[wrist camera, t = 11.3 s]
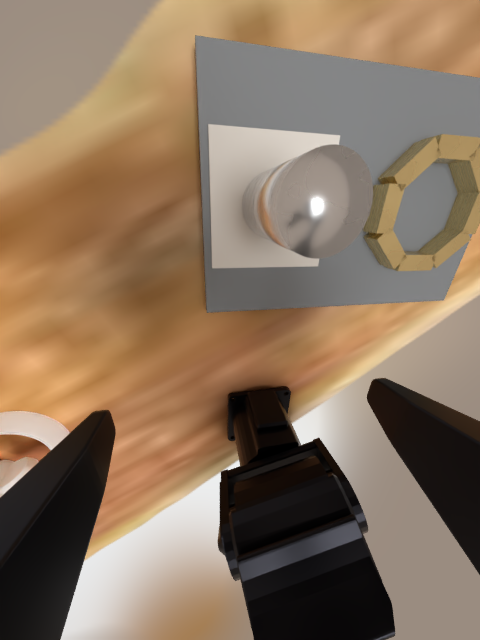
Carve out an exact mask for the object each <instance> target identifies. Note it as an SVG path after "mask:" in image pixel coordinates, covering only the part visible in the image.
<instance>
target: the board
mask: <svg viewBox="0 0 480 640" xmlns="http://www.w3.org/2000/svg"><path fill="white" fill-rule="evenodd" d="M195 56H196V79H197V103H198V127H199V150H200V174H201V198H202V221H203V245H204V269H205V292H206V310H207V313H209V312H228V311H248V310H267V309H286V308H306V307H325V306H344V305H363V304H383V303H402V302H421V301H440V300H444V299H445V296H446V294H447V292H448V289H449V287H450V285H451V282H452V280H453V278H454V275H455V273H456V271H457V269H458V266H459V264H460V262H461V259H462V257H463V255H464V252H465V250H466V248H467V245H468V243H469V242H467V243H466V244H465V245H464V246H462V247H461V248H460V249H459V250H458V251H456V252H455V253H454V254H453V255H452V256H450V257H449V258H448V259H447V260H446V261H444V262H443V263H442V264H441V265H439V266H438V267H437V268H434V267H432V269H431V270H426V271H396V270H393V269H390V268H387V267H384V266H383V265H380V264H379V262H378V261H377V259H376V257H375V256H374V254H373V252H372V251H371V249H370V247H369V246H368V244H367V242H366V241H365V239H364V236H365V235H366V234H367V233H368V232H364V231H363V229H362V231H361V232H360V234H359V235H358V236H357V238H356V239H355V240H354V241H353V242H352V243H351V244H350V245H349V246H348V247H346V248H345V249H344V250H342V251H341V252H339V253H337V254H335V255H333V256H330V257H326V258H320V259H319V264H318V266H310V267H260V268H212V247H211V212H210V176H209V140H208V124H213V125H225V126H236V127H248V128H260V129H271V130H283V131H295V132H306V133H318V134H329V135H340V140H339V145H343V146H345V147H348V148H350V149H352V150H354V151H355V152H356V153H357V154H359V155H360V156H361V158H362V159H363V160H364V161H365V163H366V165H367V167H368V169H369V171H370V174H371V178H372V184H373V186H374V185H380V183H379V181H378V179H377V178H378V177H379V176H380V175H381V174H383V173H384V172H385V171H386V170H387V169H388V168H389V167H390V166H391V165H392V164H393V163H394V162H395V161H396V160H397V159H398V158H399V157H400V156H401V155H402V154H403V153H404V152H405V151H407V150H408V149H409V148H410V147H411V146H412V145H413V144H414V143H415V142H419V141H421V140H422V139H426V138H430V137H433V136H437V135H440V134H448V135H458V136H469V137H479V138H480V78H477V77H470V76H464V75H457V74H450V73H444V72H437V71H430V70H423V69H417V68H410V67H403V66H397V65H390V64H383V63H377V62H370V61H363V60H357V59H350V58H343V57H337V56H330V55H323V54H316V53H310V52H303V51H296V50H290V49H283V48H276V47H270V46H263V45H256V44H250V43H243V42H236V41H229V40H223V39H216V38H209V37H203V36H196V35H195ZM456 196H457V190H456V187H455V184H454V181H453V178H452V175H451V172H450V169H449V166H448V164H442V163H432V164H431V165H430V166H429V167H428V168H427V169H426V170H424V171H423V172H422V173H421V174H420V175H419V176H418V177H417V178H416V179H415V180H414V181H413V182H411V183H410V184H409V185H408V186H407V187H406V188H405V189H404V193H403V196H402V200H401V203H400V207H399V210H398V213H397V217H396V220H395V224H394V227H393V231H394V233H395V235H396V237H397V239H398V241H399V243H400V244H401V246H402V248H403V250H404V251H418V250H420V249H421V248H422V247H423V246H424V245H425V244H427V243H428V242H429V241H430V240H431V239H432V238H434V237H435V236H436V235H437V234H438V233H440V232H441V231H442V230H443V229H444V228H445V225H446V222H447V220H448V217H449V214H450V212H451V209H452V207H453V204H454V201H455V199H456ZM363 228H364V227H363ZM471 236H472V234H469V237H470V238H471Z"/></svg>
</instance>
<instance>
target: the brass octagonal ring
mask: <svg viewBox="0 0 480 640" xmlns="http://www.w3.org/2000/svg"><path fill="white" fill-rule="evenodd" d="M432 163H442V164H448V166H449V169H450V172H451V175H452V178H453V181H454V184H455V187H456V190H457V196H456V199H455V201H454V204H453V207H452V209H451V212H450V214H449V217H448V220H447V222H446V225H445V228H444V229H443V230H442V231H441V232H440V233H438V234H437V235H436V236H435V237H434V238H432V239H431V240H430V241H429V242H428V243H427V244H425V245H424V246H423V247H422V248H421V249H420V250H418V251H404V250H403V248H402V246H401V244H400V243H399V241H398V239H397V237H396V235H395V233H394V231H393V227H394V224H395V220H396V217H397V213H398V210H399V207H400V203H401V200H402V196H403V193H404V189H405V188H406V187H407V186H408V185H409V184H410V183H411V182H413V181H414V180H415V179H416V178H417V177H418V176H419V175H420V174H421V173H422V172H423V171H424V170H426V169H427V168H428V167H429V166H430V165H431V164H432ZM377 179H378V181H379V183H380V185H374V186H373V201H372V206H371V210H370V214H369V217H368V219H367V221H366V224H365V225H364V228H363V231H364V232H368V233H367V234H366V235H365V236H364V239H365V241H366V242H367V244H368V246H369V247H370V249H371V251H372V252H373V254H374V256H375V257H376V259H377V261H378V262H379V264H380V265H383V266H384V267H387V268H390V269H393V270H396V271H426V270H431V269H432V267H434V268H437V267H438V266H439V265H441V264H442V263H443V262H444V261H446V260H447V259H448V258H449V257H450V256H452V255H453V254H454V253H455V252H456V251H458V250H459V249H460V248H461V247H462V246H464V245H465V244H466V243H467V242H469V241H470V237H469V234H475V233H476V230H477V228H478V226H479V224H480V138H479V137H469V136H458V135H448V134H440V135H437V136H433V137H430V138H426V139H422V140H421V141H419V142H415V143H414V144H413V145H412V146H411V147H410V148H409V149H408V150H407V151H405V152H404V153H403V154H402V155H401V156H400V157H399V158H398V159H397V160H396V161H395V162H394V163H393V164H392V165H391V166H390V167H389V168H388V169H387V170H386V171H385V172H384V173H383V174H381V175H380V176H379V177H378V178H377Z"/></svg>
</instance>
